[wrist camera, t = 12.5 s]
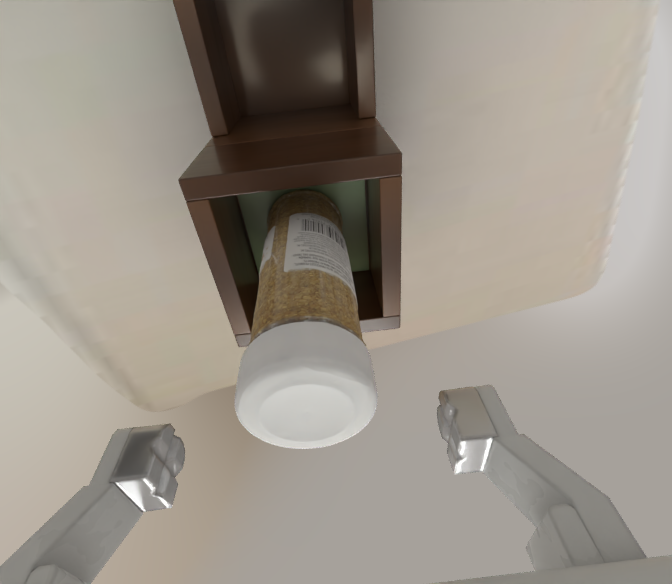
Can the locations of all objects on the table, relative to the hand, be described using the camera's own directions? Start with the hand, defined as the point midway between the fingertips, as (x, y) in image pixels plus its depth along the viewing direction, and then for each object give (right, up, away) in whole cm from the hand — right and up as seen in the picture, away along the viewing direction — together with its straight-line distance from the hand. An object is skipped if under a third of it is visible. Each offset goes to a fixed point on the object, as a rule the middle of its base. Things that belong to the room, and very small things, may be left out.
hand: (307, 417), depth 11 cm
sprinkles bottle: (-1, +8, +11) cm, 14 cm away
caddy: (-2, +16, +15) cm, 22 cm away
